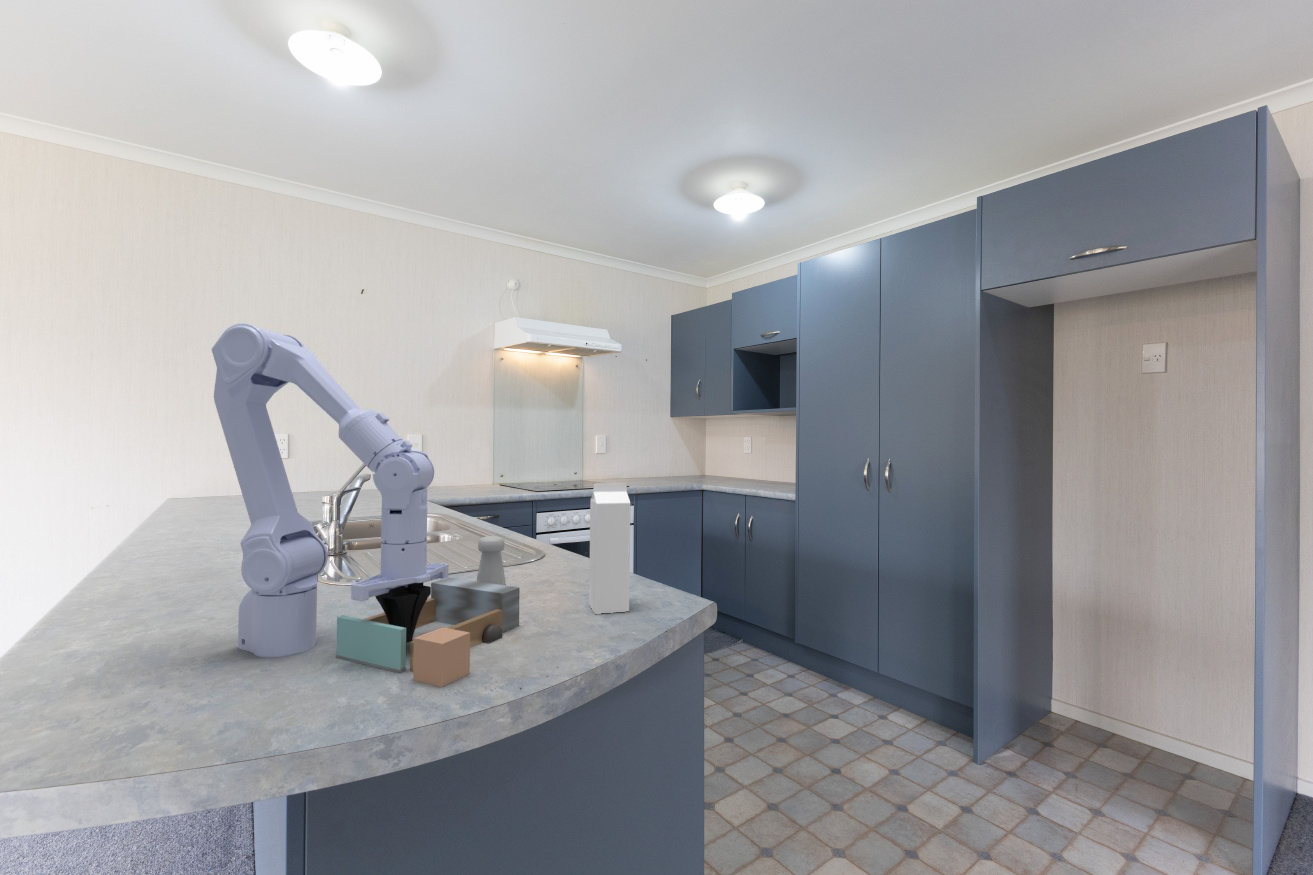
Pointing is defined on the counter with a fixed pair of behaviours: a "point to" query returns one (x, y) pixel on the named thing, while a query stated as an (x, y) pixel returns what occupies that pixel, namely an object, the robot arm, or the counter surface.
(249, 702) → the counter surface
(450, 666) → the tan rectangular block
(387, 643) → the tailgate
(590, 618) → the counter surface
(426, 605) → the flatbed
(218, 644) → the counter surface
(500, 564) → the salt shaker
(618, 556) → the milk
